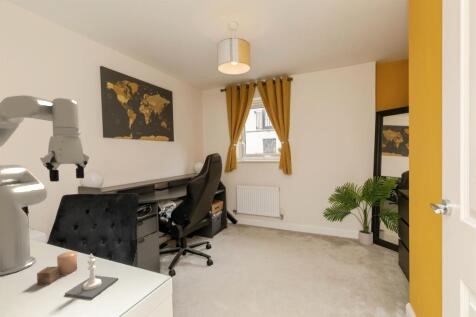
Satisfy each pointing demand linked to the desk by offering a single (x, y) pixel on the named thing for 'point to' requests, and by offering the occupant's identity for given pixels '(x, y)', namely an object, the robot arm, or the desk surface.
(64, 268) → the peach rounded dome
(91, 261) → the chess piece
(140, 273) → the desk surface
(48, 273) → the walnut block
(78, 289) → the coaster
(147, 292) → the desk surface
